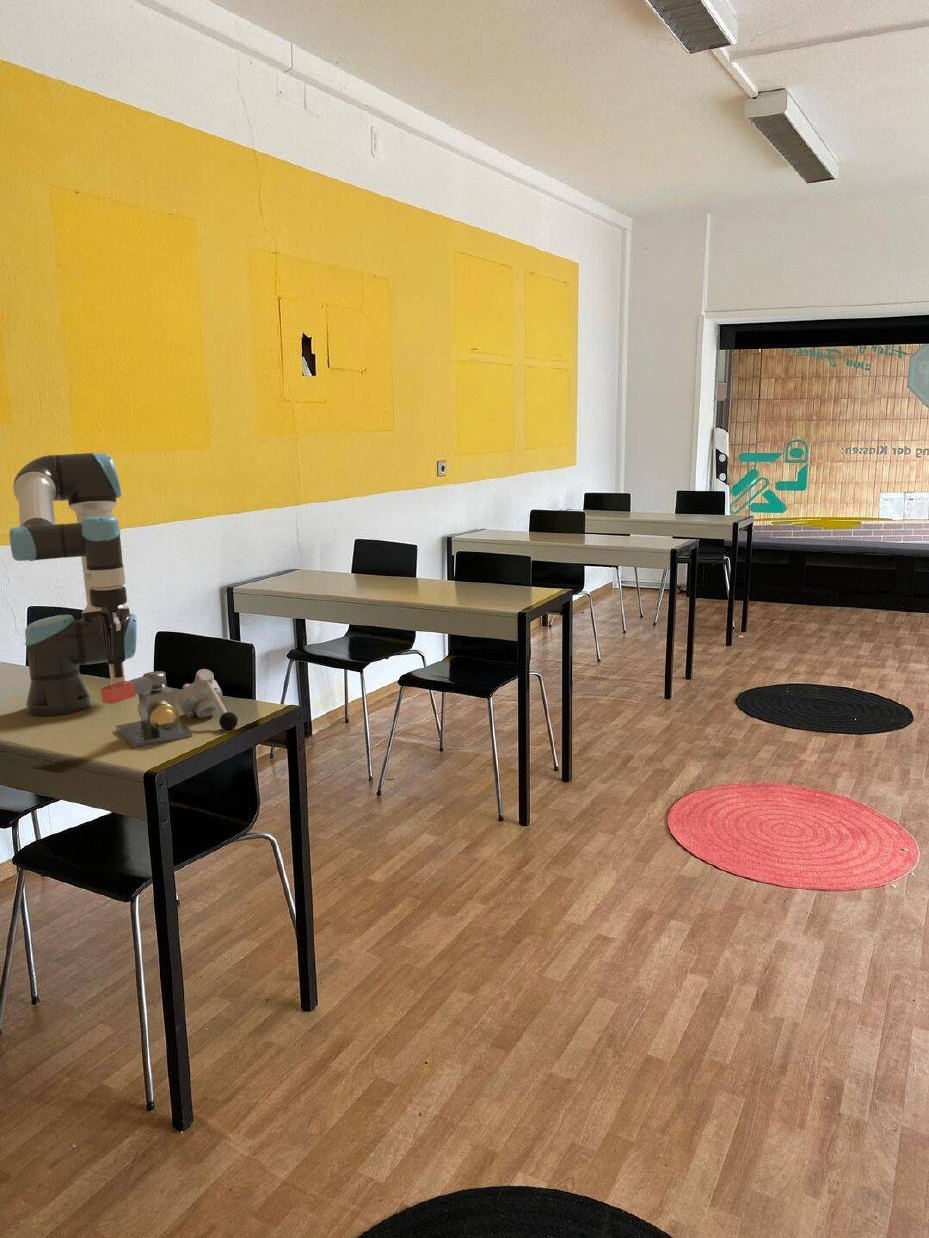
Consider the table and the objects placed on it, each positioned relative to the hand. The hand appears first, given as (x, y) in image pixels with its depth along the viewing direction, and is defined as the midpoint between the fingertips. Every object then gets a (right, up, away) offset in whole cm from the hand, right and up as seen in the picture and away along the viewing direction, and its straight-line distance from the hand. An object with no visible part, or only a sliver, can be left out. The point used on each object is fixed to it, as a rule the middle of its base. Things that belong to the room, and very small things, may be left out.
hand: (118, 690), depth 210 cm
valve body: (+5, -11, +8) cm, 14 cm away
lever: (+3, -1, +1) cm, 4 cm away
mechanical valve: (+17, -9, +16) cm, 25 cm away
